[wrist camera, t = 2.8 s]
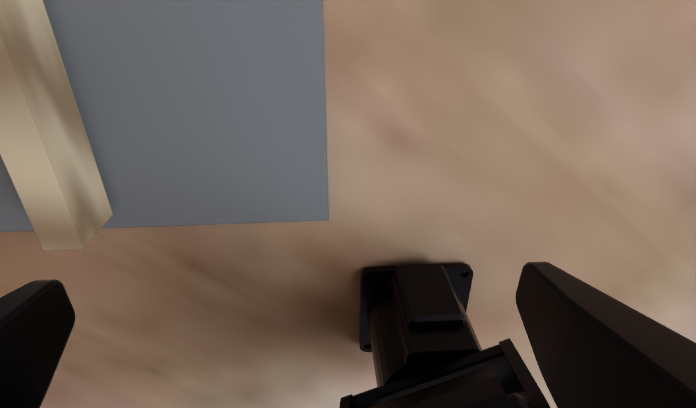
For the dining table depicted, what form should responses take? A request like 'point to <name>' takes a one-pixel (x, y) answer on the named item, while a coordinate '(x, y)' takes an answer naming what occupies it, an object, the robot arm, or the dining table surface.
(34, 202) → the dial lever
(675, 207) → the dining table surface
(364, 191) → the dining table surface
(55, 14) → the grey board
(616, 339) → the robot arm
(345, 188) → the dining table surface
